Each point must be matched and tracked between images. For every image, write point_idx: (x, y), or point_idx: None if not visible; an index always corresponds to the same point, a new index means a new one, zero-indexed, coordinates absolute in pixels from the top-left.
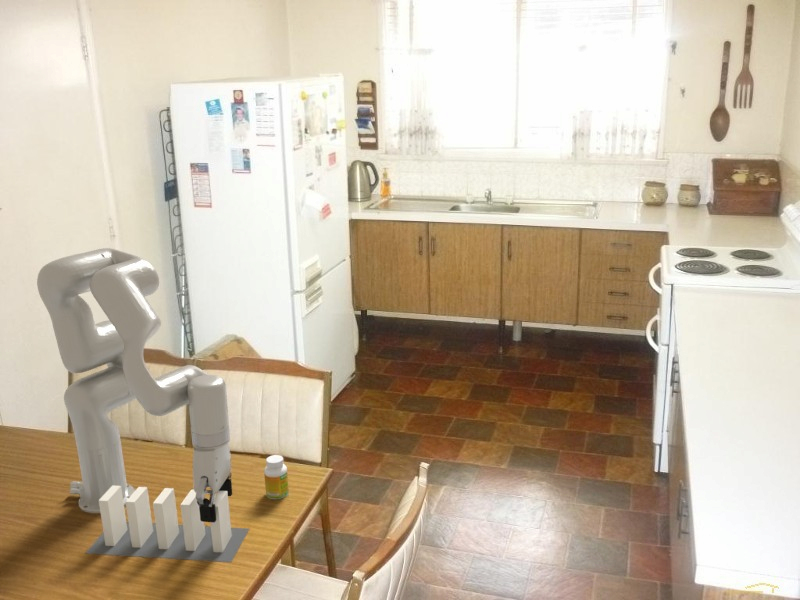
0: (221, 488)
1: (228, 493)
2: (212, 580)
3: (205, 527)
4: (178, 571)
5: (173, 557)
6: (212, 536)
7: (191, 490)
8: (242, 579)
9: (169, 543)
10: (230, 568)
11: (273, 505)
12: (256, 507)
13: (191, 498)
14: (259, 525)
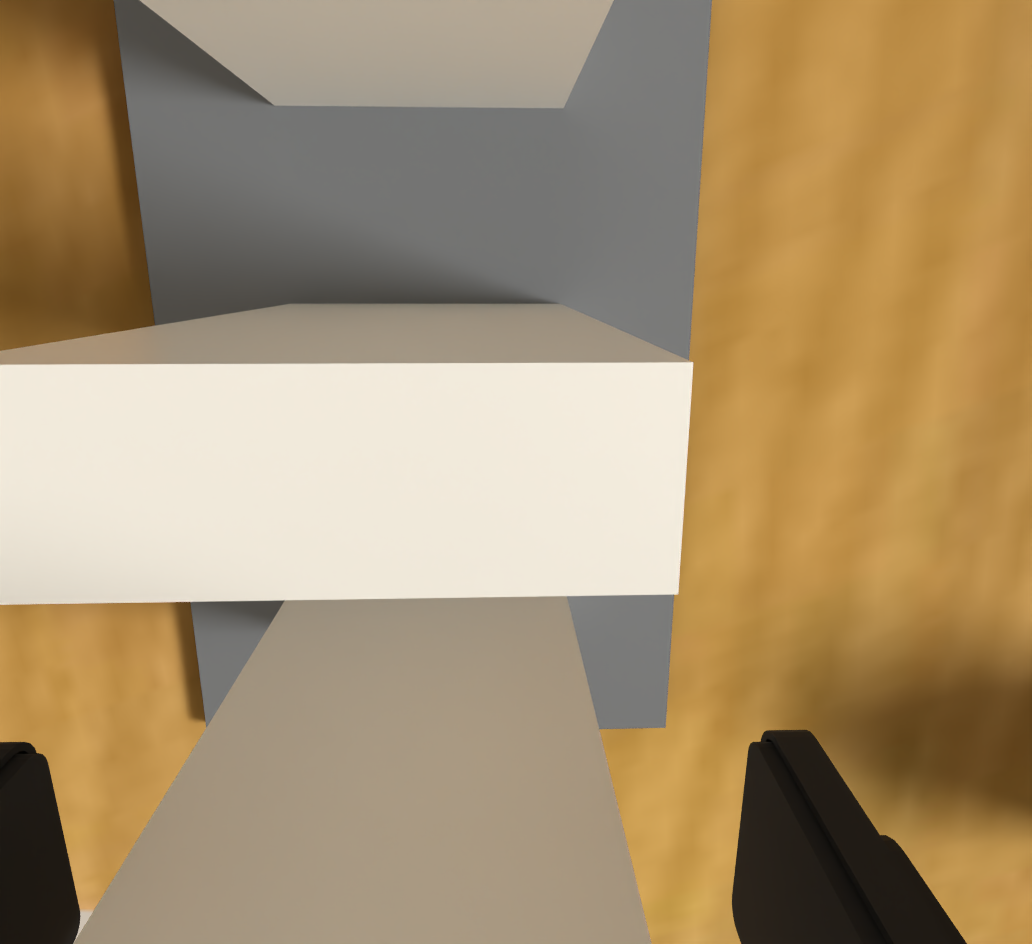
0: (796, 917)
1: (751, 929)
2: (2, 655)
3: (668, 350)
4: (31, 341)
5: (161, 225)
6: (266, 639)
7: (634, 384)
8: (74, 843)
9: (314, 98)
10: (173, 729)
11: (1019, 775)
12: (1002, 660)
13: (254, 538)
14: (739, 757)
